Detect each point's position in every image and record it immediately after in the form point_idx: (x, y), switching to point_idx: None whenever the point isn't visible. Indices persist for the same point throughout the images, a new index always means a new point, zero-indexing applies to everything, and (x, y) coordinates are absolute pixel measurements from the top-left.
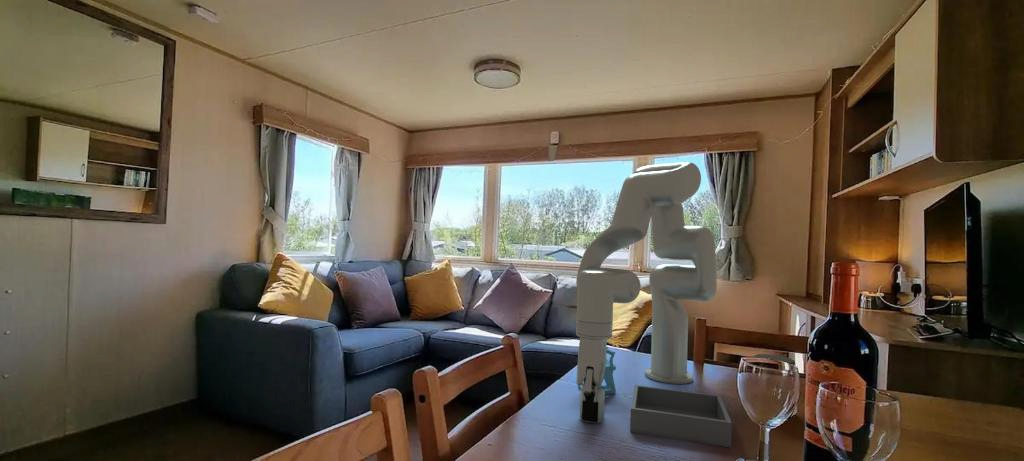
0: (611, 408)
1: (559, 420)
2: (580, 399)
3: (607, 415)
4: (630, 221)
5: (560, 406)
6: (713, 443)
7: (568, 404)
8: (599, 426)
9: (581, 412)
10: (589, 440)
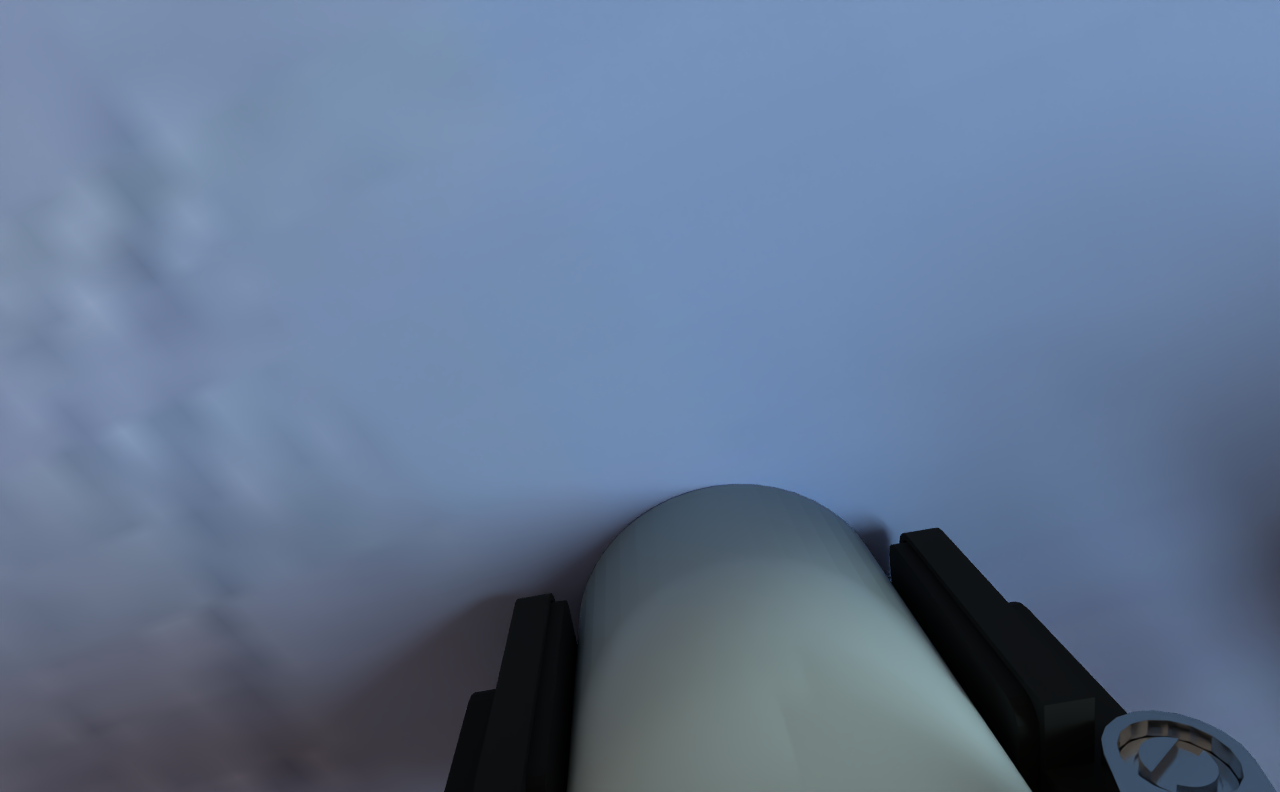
0: None
1: (410, 298)
2: (686, 657)
3: None
4: None
5: (964, 87)
6: None
7: (1110, 172)
8: None
9: (620, 583)
10: (109, 787)
